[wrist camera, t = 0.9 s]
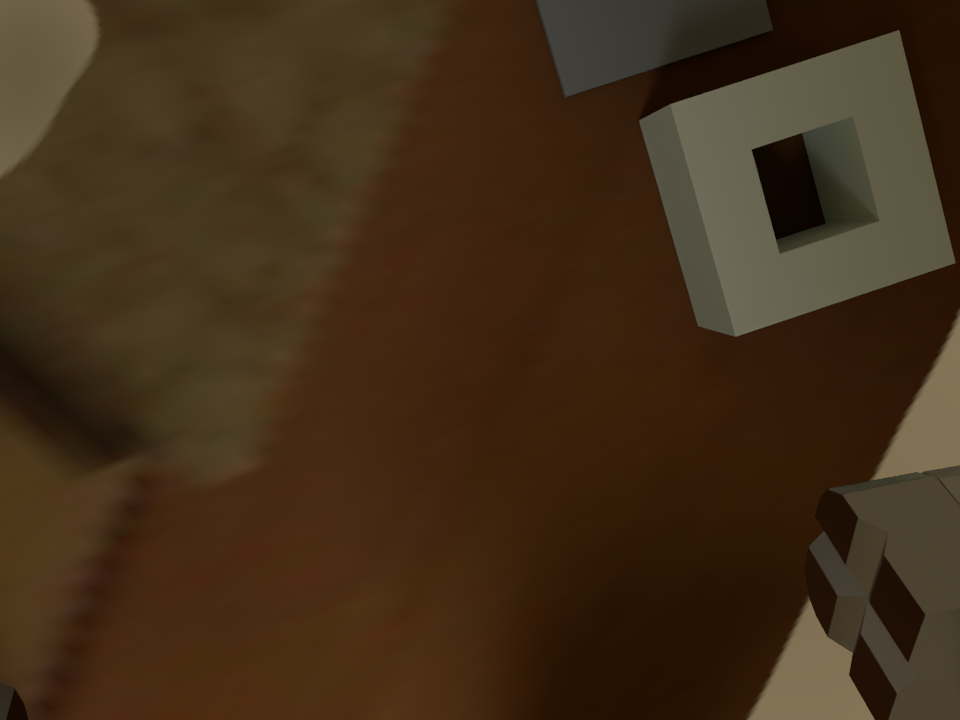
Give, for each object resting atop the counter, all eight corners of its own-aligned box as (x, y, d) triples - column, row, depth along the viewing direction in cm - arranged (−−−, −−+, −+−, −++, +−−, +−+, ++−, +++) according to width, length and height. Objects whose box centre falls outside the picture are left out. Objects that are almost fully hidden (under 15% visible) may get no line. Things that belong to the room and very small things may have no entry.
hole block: (893, 260, 44) (955, 263, 39) (698, 326, 44) (735, 336, 39) (841, 55, 42) (899, 30, 38) (638, 120, 42) (670, 104, 37)
